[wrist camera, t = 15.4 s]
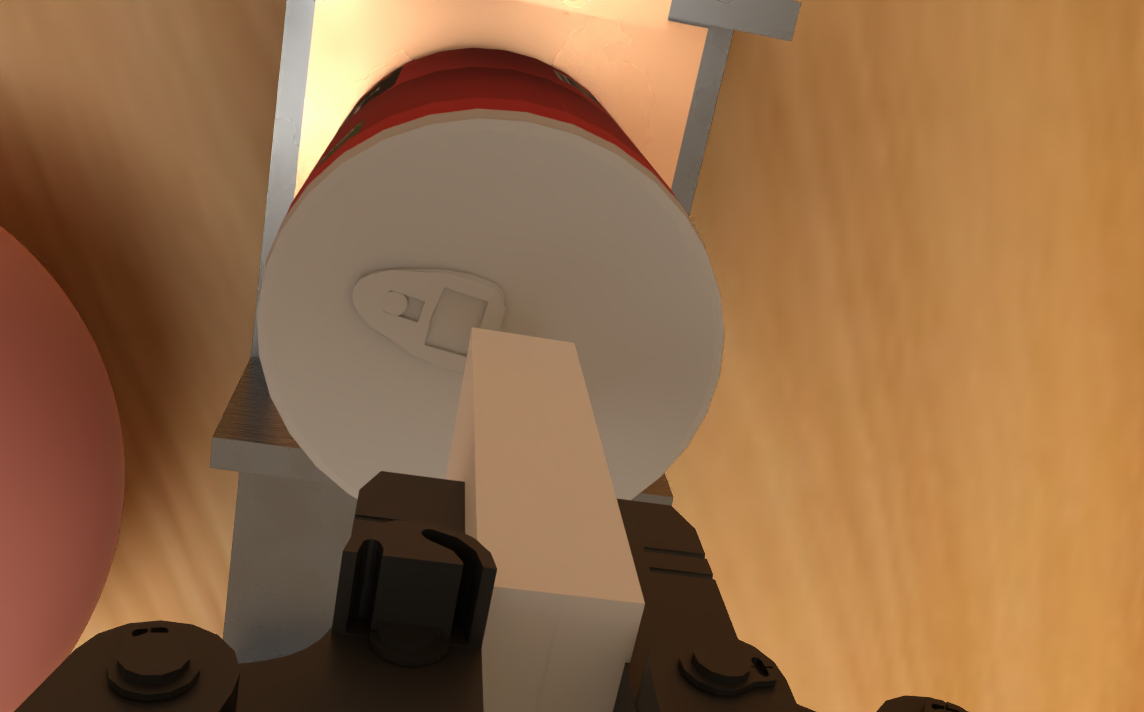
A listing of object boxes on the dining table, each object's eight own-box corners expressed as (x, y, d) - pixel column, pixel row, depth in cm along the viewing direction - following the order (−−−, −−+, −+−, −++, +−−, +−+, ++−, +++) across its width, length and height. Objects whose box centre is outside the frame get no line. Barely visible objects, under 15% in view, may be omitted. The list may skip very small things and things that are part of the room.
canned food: (329, 29, 27) (247, 95, 16) (652, 57, 28) (763, 135, 17) (325, 324, 29) (253, 537, 19) (618, 340, 30) (699, 552, 20)
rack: (306, -113, 27) (247, -126, 19) (731, -23, 29) (827, -3, 21) (223, 696, 35) (160, 903, 28) (555, 727, 37) (579, 930, 30)
